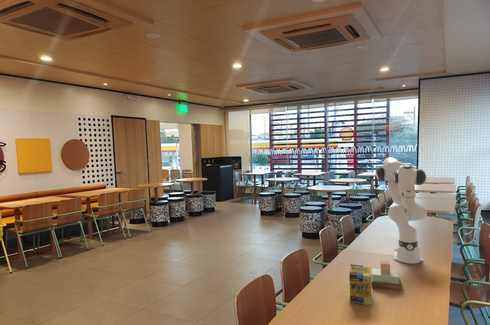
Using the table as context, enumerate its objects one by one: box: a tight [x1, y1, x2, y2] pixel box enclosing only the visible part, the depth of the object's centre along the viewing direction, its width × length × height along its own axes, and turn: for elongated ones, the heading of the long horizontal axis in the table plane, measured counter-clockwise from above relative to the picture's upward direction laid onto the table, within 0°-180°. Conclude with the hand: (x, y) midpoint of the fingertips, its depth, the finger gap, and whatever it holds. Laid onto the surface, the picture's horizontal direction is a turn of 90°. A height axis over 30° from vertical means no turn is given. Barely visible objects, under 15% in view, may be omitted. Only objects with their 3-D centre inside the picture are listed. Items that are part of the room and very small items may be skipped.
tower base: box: [370, 273, 403, 291], centre depth 190 cm, size 12×16×4 cm
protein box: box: [348, 263, 372, 306], centre depth 175 cm, size 10×15×16 cm
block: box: [379, 260, 391, 275], centre depth 189 cm, size 5×5×6 cm
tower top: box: [372, 267, 400, 284], centre depth 190 cm, size 10×14×4 cm
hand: (407, 214), depth 196 cm, fingers open, 8 cm apart
